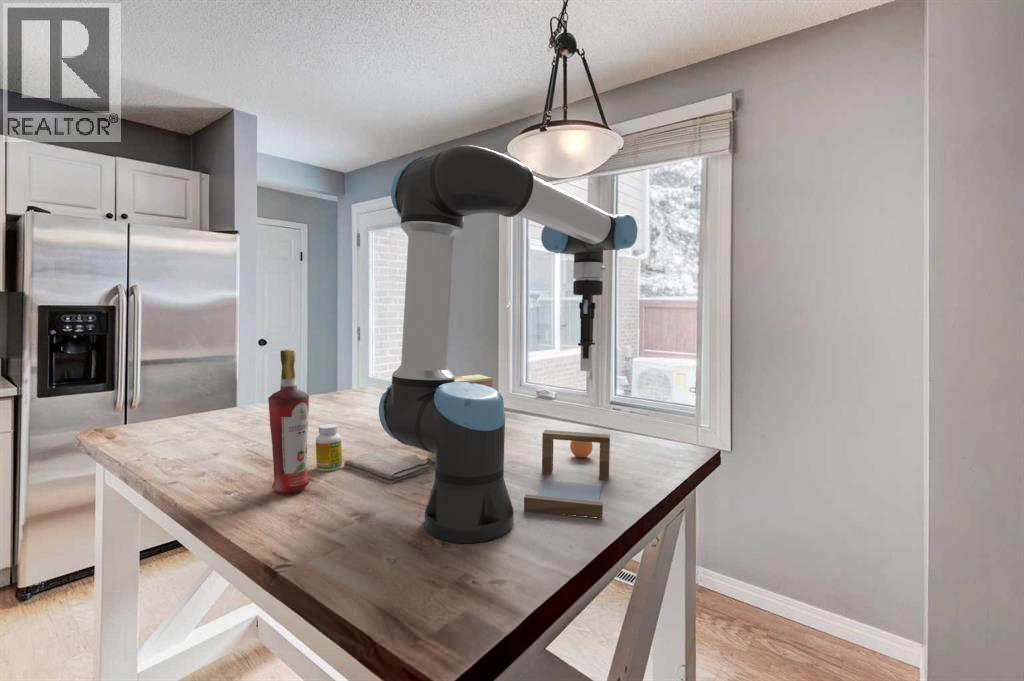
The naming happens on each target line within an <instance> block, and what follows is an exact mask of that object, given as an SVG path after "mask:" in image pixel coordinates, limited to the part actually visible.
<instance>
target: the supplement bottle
mask: <svg viewBox="0 0 1024 681" xmlns="http://www.w3.org/2000/svg"><path fill="white" fill-rule="evenodd" d="M338 426H339V425H337V424H335V423H328V424H327V423H326V424H322V425H319V426H318V434H319V435H318V436H317V437H316V438H315V454H316V455H315V456H316V457H315V458H316V470H317V471H319V472H324V471H327V472H335V471H338V470H340V469H341V468H342V466H343V456H342V455H343V454H342V451H343V450H342V435H341V434H339V433H338V432H339V431H338Z"/></svg>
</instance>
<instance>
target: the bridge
mask: <svg viewBox="0 0 1024 681" xmlns="http://www.w3.org/2000/svg"><path fill="white" fill-rule="evenodd" d="M554 440H555V441H556V440H559V441H570V442H571V441H583V442H592V443H598V444H599V463H598V464H599V466H598V468H599V470H598V472H599V473H598V479H599V480H603V479H609V478H610V458H611V456H610V452H611V445H610V444H611V434H610V433H608V434H607V433H597V432H596V433H594V432H584V431H583V432H582V431H581V432H580V431H578V432H577V431H569V430H568V431H565V430H552V429H551V430H549V429H544V431H543V432H542V440H541V441H542V446H541V447H542V449H541V455H542V456H541V474H542V475H548V476H550V475H552V473H553V471H554Z"/></svg>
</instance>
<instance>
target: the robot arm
mask: <svg viewBox="0 0 1024 681" xmlns="http://www.w3.org/2000/svg"><path fill="white" fill-rule="evenodd" d="M390 187H391V188H390V198H391V199H390V200H391V203H392V205H393V208H394V209H395V210H396V214H397V216H399V218H400V228H401V230H402V231H403V232H404V233H405V234H406V235H407V257H406V272H405V290H404V309H403V323H402V324H403V325H402V326H403V328H402V342H401V343H402V344H401V358H400V359H401V360H400V362H401V363H400V365H399V367H398V368H397V369H395V371H393V372H392V375H391V384H390V385H389V386H388V387H387V388H386V391H385V392H383V393H382V396H381V398H380V401H379V404H378V417H379V420H380V421H379V422H380V424H381V426H382V428H383V430H384V431H385V433H386V434H387V435H388V436H390V437H392V438H393V439H394V440H397V442H399V443H401V444H403V445H405V446H409V447H413V448H416V449H420V450H423V451H425V452H427V453H428V452H431V453H434V454H435V462H434V481H433V485H432V488H431V491H430V495H429V498H428V502H427V503H426V507H425V509H424V510H425V511H424V528H425V531H426V532H427V533H428V534H429V535H431V536H433V537H434V538H436V539H439V540H442V541H445V542H451V543H457V544H460V543H461V544H472V543H473V544H474V543H481V542H487V541H488V542H489V541H491V540H495V539H498V538H500V537H503V536H504V535H506V534H507V533H508V532H509V531H510V530H512V528H513V526H514V515H515V514H514V511H515V510H514V507H513V502H512V500H511V498H510V494H509V491H508V488H507V485H506V481H505V476H504V474H505V473H504V471H505V470H504V469H505V468H504V464H505V433H506V432H505V430H506V429H505V428H506V413H505V403H504V402H505V401H504V398H503V395H501V393H500V392H499V391H498V390H497V389H495V388H493V387H492V388H491V387H488V386H485V385H481V384H470V383H467V382H454V381H455V377H456V376H455V375H454V374H453V373H452V371H451V370H450V369H449V367H448V361H449V360H448V359H449V345H450V344H449V343H450V328H451V327H450V326H451V325H450V323H451V308H452V294H453V292H452V288H453V276H454V275H453V274H454V260H455V257H454V256H455V244H456V240H457V239H459V238H460V236H462V235H463V234H464V228H465V227H464V225H465V224H464V223H465V217H467V216H471V215H478V214H496V215H501V216H503V217H506V218H514V217H516V216H517V217H518V216H519V217H520V218H523V219H526V220H529V221H532V222H534V223H537V224H539V225H542V226H544V227H543V228H542V230H541V233H540V234H541V236H540V238H541V240H540V241H541V244H542V246H543V248H544V249H545V250H546V251H548V252H551V253H554V254H557V255H558V254H563V255H573V266H572V267H573V268H572V269H573V276H572V277H573V279H575V280H574V281H573V282H572V283H573V286H572V287H573V290H572V294H573V295H575V296H582V298H581V302H579V304H578V307H579V318H580V341H579V342H578V343H577V345H578V346H579V347H580V363H579V364H580V370H579V371H580V372H592V371H593V345H596V342H595V341H594V319H595V310H596V307H597V306H596V305H597V303H596V302H594V296H602V295H603V288H604V287H603V286H604V285H603V280H602V279H603V275H604V273H603V271H606V267H605V266H604V264H603V263H604V251H615V250H616V251H620V250H625V249H629V248H632V247H633V246H634V244H635V243H636V241H637V239H638V225H637V222H636V219H635V218H634V217H633V216H632V215H631V214H629V213H622V214H621V213H618V214H615V215H614V214H611V213H608V212H606V211H604V210H602V209H600V208H598V207H596V206H594V205H592V204H590V203H589V202H586V201H584V200H582V199H581V198H578V197H577V196H574V195H572V194H570V193H569V192H566V190H565V191H564V190H563V189H560V188H559V187H557V186H555V185H553V184H551V183H549V182H547V181H544V180H543V179H541V178H539V177H536V176H535V175H534V172H533V170H532V169H531V167H529V166H528V165H527V164H524V163H522V162H520V161H518V160H516V159H514V158H512V157H510V156H508V155H505V154H503V153H500V152H497V151H496V150H495V151H494V150H491V149H488V148H486V147H482V146H476V145H470V144H469V145H468V144H463V145H461V144H459V145H455V146H452V147H451V146H450V147H448V148H447V149H444V150H440V151H438V152H435V153H432V154H429V155H427V156H425V155H424V156H420V157H416V158H414V159H412V160H411V161H409V162H408V163H406V164H404V165H402V167H401V168H400V169H398V171H397V172H396V173H395V175H394V177H393V179H392V182H391V186H390Z"/></svg>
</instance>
